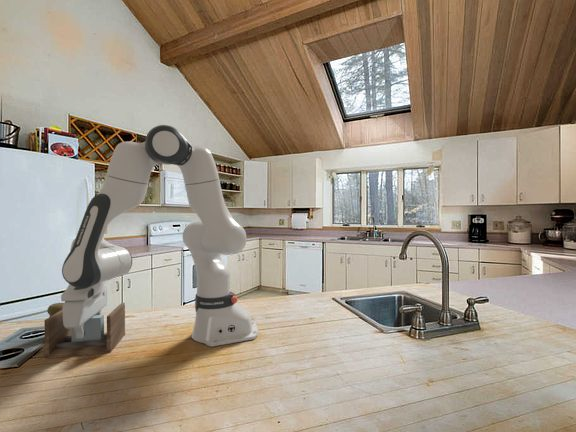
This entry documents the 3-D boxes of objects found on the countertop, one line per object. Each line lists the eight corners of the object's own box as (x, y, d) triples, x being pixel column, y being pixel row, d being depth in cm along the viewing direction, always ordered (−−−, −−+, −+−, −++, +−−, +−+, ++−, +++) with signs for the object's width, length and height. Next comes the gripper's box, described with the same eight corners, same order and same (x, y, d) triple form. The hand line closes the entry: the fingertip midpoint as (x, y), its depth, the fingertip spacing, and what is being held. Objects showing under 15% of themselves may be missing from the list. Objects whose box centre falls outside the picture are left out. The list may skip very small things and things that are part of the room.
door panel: (104, 339, 90) (104, 314, 90) (100, 343, 88) (100, 317, 88) (75, 341, 89) (75, 316, 88) (71, 345, 86) (71, 319, 86)
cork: (56, 341, 91) (55, 307, 90) (41, 339, 92) (40, 306, 92) (73, 333, 97) (73, 301, 96) (59, 331, 98) (59, 300, 98)
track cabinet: (125, 334, 96) (124, 302, 96) (110, 352, 84) (110, 316, 84) (68, 338, 92) (67, 305, 92) (44, 358, 81) (44, 320, 80)
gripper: (92, 279, 97) (92, 318, 98) (57, 297, 77) (57, 347, 78) (112, 278, 99) (112, 317, 99) (83, 296, 79) (83, 345, 79)
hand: (88, 330), depth 88 cm, fingers open, 8 cm apart
